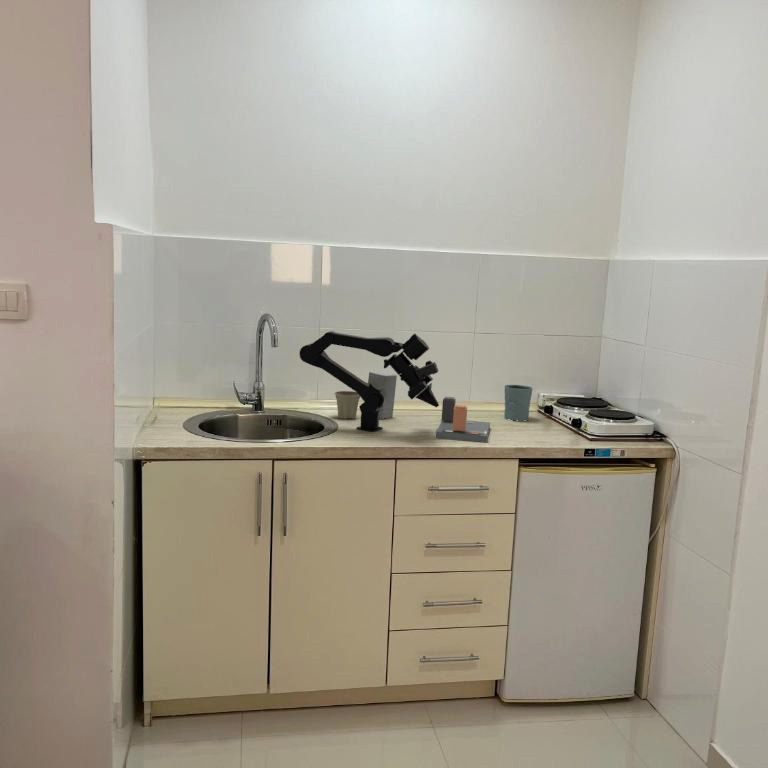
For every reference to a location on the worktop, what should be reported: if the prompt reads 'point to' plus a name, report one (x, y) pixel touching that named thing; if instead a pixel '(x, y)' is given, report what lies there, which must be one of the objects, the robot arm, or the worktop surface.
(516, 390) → the blue-grey tapered cup
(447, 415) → the switch knob
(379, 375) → the grey vase
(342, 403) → the flower pot
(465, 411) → the switch knob
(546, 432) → the worktop surface
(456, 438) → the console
